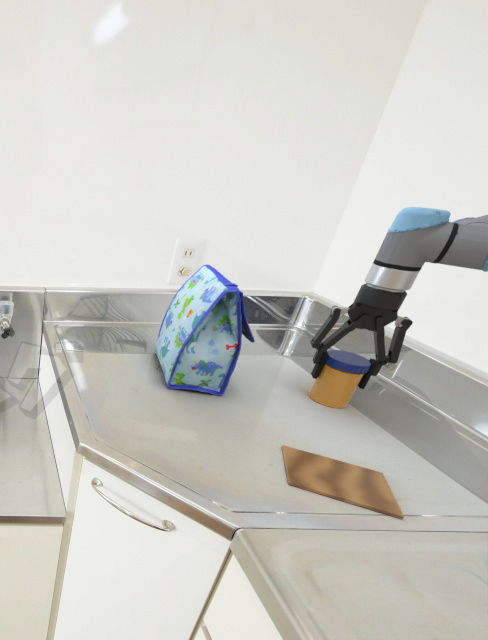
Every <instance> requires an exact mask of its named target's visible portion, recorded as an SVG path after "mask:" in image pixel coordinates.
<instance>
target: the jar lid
mask: <svg viewBox="0 0 488 640" xmlns="http://www.w3.org/2000/svg"><path fill="white" fill-rule="evenodd" d="M327 352H328V354H329V355H328V357H327V359H326V361H325V363H326V364H328V365H329V366H331V367H333V368H336V369H339V370H342V371H345V372H349V373H356V374H364V373H367V372H368V371H369V369H370V367H371V365H372V363H371V361H369V360H370V359H368V358H366V357H364V356H362V355H360V354H357V353H355V352H350V351H346V350H341V349H328V350H327Z"/></svg>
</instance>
